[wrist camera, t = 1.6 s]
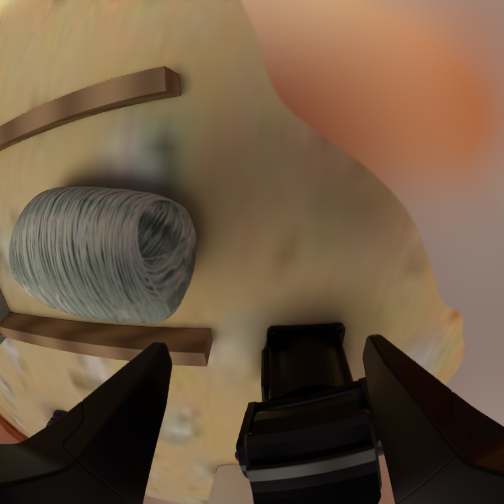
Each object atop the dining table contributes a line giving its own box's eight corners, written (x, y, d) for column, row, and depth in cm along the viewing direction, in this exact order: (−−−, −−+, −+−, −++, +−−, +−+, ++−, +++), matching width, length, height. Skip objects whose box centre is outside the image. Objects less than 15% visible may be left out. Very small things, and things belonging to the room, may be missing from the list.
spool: (219, 164, 15) (104, 328, 9) (222, 268, 22) (162, 386, 16) (60, 137, 17) (-32, 229, 11) (93, 222, 24) (31, 304, 18)
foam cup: (204, 459, 35) (194, 529, 24) (264, 462, 35) (262, 534, 23) (211, 477, 39) (204, 536, 28) (263, 480, 39) (261, 540, 27)
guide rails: (179, 74, 15) (164, 66, 13) (212, 341, 24) (206, 366, 21) (-35, 155, 17) (-54, 161, 14) (15, 322, 26) (2, 336, 23)
